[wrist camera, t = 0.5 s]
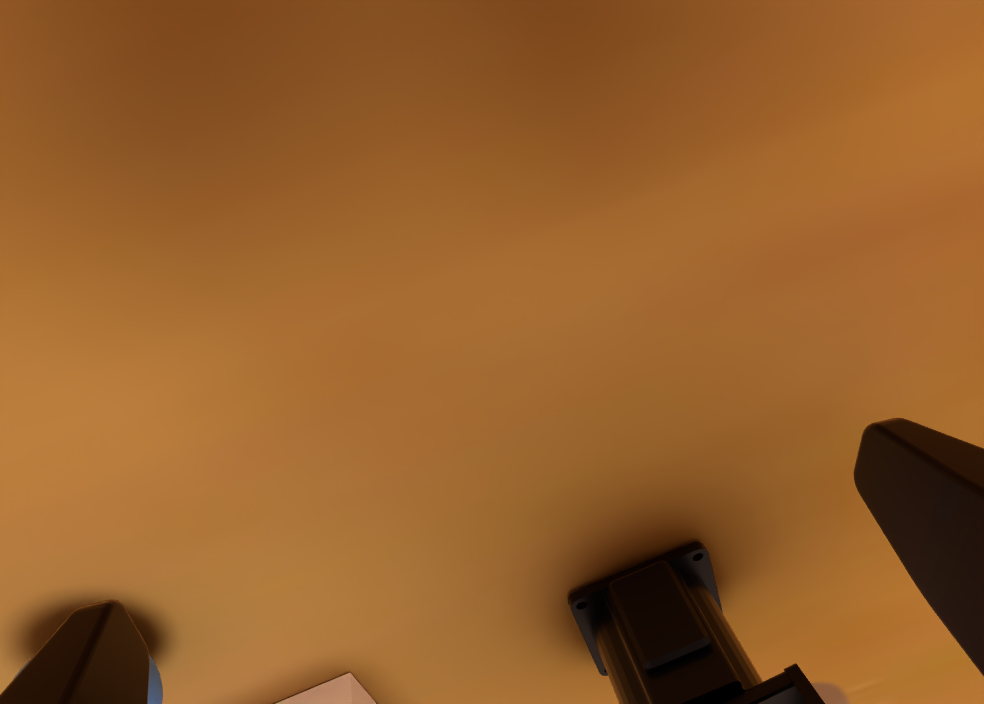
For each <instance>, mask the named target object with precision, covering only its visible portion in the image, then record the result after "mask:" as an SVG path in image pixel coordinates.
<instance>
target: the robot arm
mask: <svg viewBox="0 0 984 704" xmlns="http://www.w3.org/2000/svg"><path fill="white" fill-rule="evenodd" d="M854 481H855V485H856V487H857V490H858V492H859V494H860V495H861V497H862V499H863V500H864V502H865V503H866V505H867V507H868V508H869V510H870V512H871V513H872V515H873V516H874V518H875V520H876V521H877V523H878V525H879V526H880V528H881V529H882V531H883V533H884V534H885V536H886V538H887V539H888V541H889V542H890V544H891V546H892V547H893V549H894V550H895V552H896V554H897V555H898V557H899V559H900V560H901V562H902V563H903V565H904V567H905V568H906V570H907V572H908V573H909V575H910V576H911V578H912V580H913V581H914V583H915V584H916V586H917V587H918V589H919V590H920V592H921V593H922V595H923V596H924V598H925V599H926V600H927V602H928V603H929V605H930V606H931V607H932V609H933V610H934V611H935V613H936V614H937V616H938V617H939V618H940V619H941V621H942V622H943V623H944V625H945V626H946V627H947V629H948V630H949V631H950V633H951V634H952V635H953V637H954V638H955V639H956V641H957V642H958V643H959V645H960V646H961V647H962V648H963V650H964V651H965V652H966V654H967V655H968V656H969V658H970V659H971V660H972V662H973V663H974V664H975V666H976V667H977V668H978V670H979V671H980V672H981V673H982V675H983V676H984V449H983V448H981V447H978V446H975V445H973V444H970V443H967V442H965V441H962V440H959V439H957V438H954V437H951V436H949V435H946V434H944V433H941V432H938V431H936V430H933V429H930V428H928V427H925V426H922V425H920V424H917V423H914V422H912V421H909V420H906V419H903V418H893V419H888V420H884V421H880V422H875V423H871V424H869V425H868V426H867V427H866V428H865V430H864V431H863V434H862V439H861V443H860V447H859V451H858V456H857V460H856V464H855V469H854ZM568 603H569V606H570V608H571V611H572V613H573V615H574V617H575V620H576V622H577V624H578V626H579V628H580V631H581V633H582V635H583V637H584V640H585V642H586V644H587V646H588V648H589V651H590V653H591V655H592V657H593V659H594V662H595V664H596V666H597V668H598V670H599V673H600V674H601V675H603V676H609V679H610V681H611V684H612V686H613V689H614V691H615V694H616V696H617V699H618V701H619V704H825V703H824V702H823V700H822V699H821V698H820V696H819V695H818V693H817V692H816V690H815V689H814V688H813V686H812V685H811V683H810V682H809V681H808V679H807V678H806V676H805V675H804V674H803V672H802V671H801V669H800V668H799V667H798V665H797V664H796V663H795V664H793V665H791V666H789V667H787V668H785V669H784V672H783V673H781V674H779V675H777V676H774V677H772V678H770V679H768V680H766V681H764V682H763V681H762V679H761V678H760V676H759V674H758V673H757V671H756V669H755V668H754V666H753V664H752V662H751V661H750V659H749V657H748V656H747V654H746V652H745V651H744V649H743V647H742V646H741V644H740V642H739V640H738V639H737V637H736V635H735V634H734V632H733V630H732V629H731V627H730V625H729V623H728V622H727V620H726V618H725V617H724V615H723V612H722V608H721V604H720V600H719V595H718V591H717V587H716V583H715V578H714V574H713V570H712V566H711V561H710V557H709V553H708V551H707V549H706V548H705V546H704V545H703V543H701V542H695V543H692V544H689V545H687V546H684V547H682V548H680V549H677V550H675V551H672V552H670V553H668V554H665V555H663V556H660V557H658V558H656V559H653V560H651V561H648V562H646V563H644V564H641V565H639V566H636V567H634V568H632V569H629V570H627V571H624V572H622V573H620V574H617V575H615V576H612V577H610V578H608V579H605V580H603V581H600V582H598V583H596V584H593V585H591V586H588V587H586V588H584V589H581V590H579V591H577V592H575V593H573V594H572V595H571V596H570V597H569V599H568ZM149 671H150V659H149V652H148V648H147V645H146V643H145V641H144V639H143V637H142V636H141V634H140V632H139V631H138V629H137V627H136V626H135V624H134V622H133V621H132V619H131V617H130V615H129V614H128V612H127V610H126V609H125V607H124V606H123V605H122V603H120V602H119V601H117V600H108V601H104V602H100V603H96V604H91V605H87V606H83V607H80V608H78V609H76V610H75V611H74V612H73V613H72V614H71V615H70V616H69V617H68V618H67V619H66V620H65V621H64V622H63V623H62V625H61V626H60V627H59V628H58V629H57V630H56V631H55V633H54V634H53V635H52V636H51V637H50V638H49V640H48V641H47V642H46V643H45V644H44V645H43V646H42V648H41V649H40V650H39V651H38V652H37V653H36V654H35V656H34V657H33V658H32V659H31V660H30V661H29V662H28V664H27V665H26V666H25V667H24V668H23V669H22V670H21V672H20V673H19V674H18V675H17V676H16V677H15V678H14V680H13V681H12V682H11V683H10V684H9V685H8V686H7V688H6V689H5V690H4V691H3V692H2V693H1V694H0V704H148V689H149Z"/></svg>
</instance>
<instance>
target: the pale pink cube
mask: <svg viewBox="0 0 984 704" xmlns="http://www.w3.org/2000/svg"><path fill="white" fill-rule="evenodd" d="M275 704H377V703H376V702H375V701H374V700H373V699H372V698H371V696H370V695H369V694H368V693H367V692H366V691H365V689H364V688H363V687H362V686H361V685H360V684H359V682H358V681H357V680H356V679H355V678H354V676H353V675H352V674H351V673H347V674H345V675H343V676H340V677H338V678H335V679H333V680H331V681H328V682H326V683H323V684H321V685H319V686H316V687H314V688H311V689H309V690H307V691H304V692H302V693H299V694H297V695H295V696H292V697H290V698H287V699H285V700H283V701H280V702H278V703H275Z"/></svg>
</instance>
